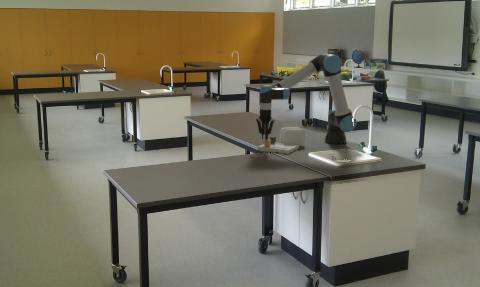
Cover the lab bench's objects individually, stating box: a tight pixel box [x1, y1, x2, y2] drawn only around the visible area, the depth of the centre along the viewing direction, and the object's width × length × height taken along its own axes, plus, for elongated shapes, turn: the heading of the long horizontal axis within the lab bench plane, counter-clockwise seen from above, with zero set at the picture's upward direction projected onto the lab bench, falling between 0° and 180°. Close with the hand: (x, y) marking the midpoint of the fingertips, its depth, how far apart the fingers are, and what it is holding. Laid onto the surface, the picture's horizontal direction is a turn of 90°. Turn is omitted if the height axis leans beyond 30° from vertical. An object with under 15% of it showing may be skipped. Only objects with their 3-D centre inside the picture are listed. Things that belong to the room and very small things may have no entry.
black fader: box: [269, 136, 277, 143], centre depth 359 cm, size 3×3×4 cm
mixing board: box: [257, 142, 300, 155], centre depth 352 cm, size 22×17×3 cm
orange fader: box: [265, 139, 271, 147], centre depth 349 cm, size 3×3×4 cm
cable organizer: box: [279, 126, 306, 147], centre depth 366 cm, size 15×11×12 cm
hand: (264, 144), depth 350 cm, fingers closed
